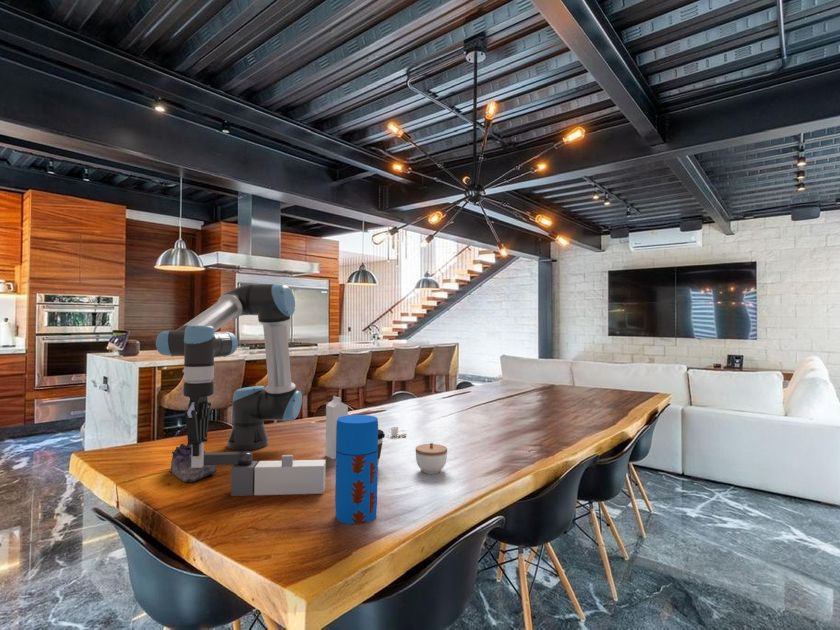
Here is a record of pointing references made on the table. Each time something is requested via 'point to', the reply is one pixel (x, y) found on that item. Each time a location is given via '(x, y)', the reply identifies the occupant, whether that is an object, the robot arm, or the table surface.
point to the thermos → (356, 468)
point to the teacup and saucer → (396, 432)
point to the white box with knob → (279, 477)
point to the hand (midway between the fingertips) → (197, 466)
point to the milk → (333, 424)
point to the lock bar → (228, 458)
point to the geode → (188, 465)
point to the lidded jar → (431, 457)
